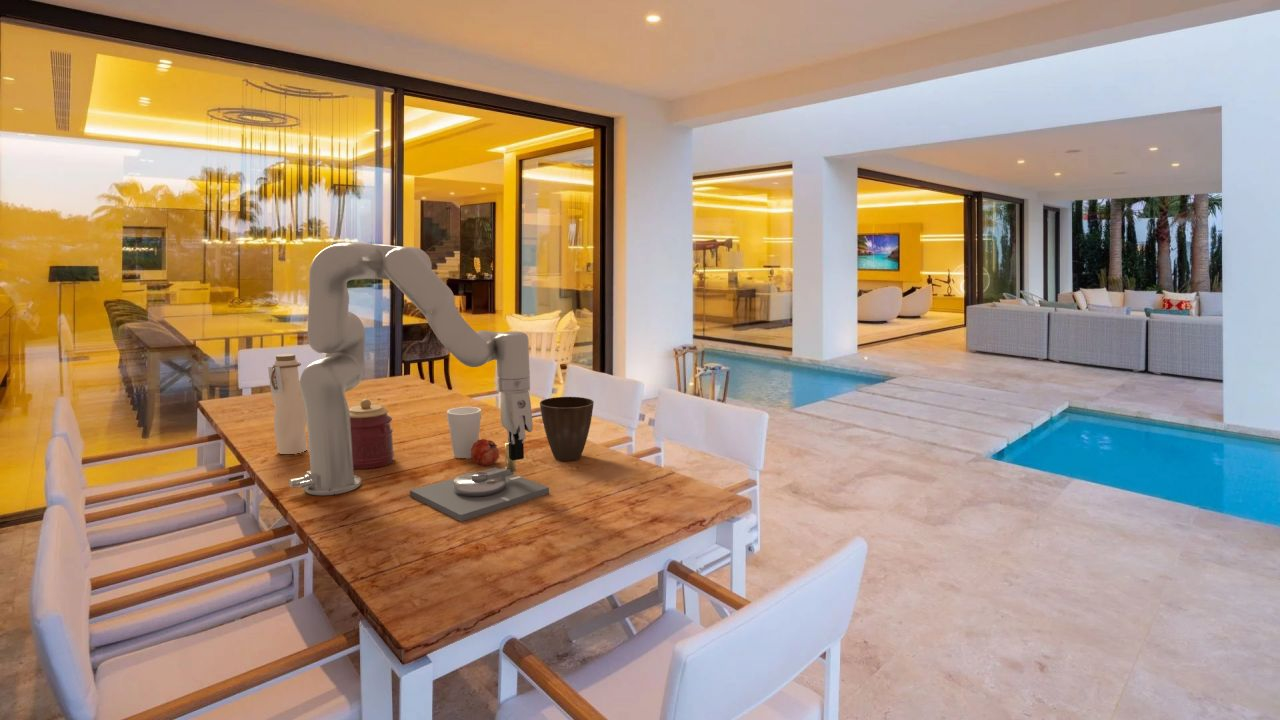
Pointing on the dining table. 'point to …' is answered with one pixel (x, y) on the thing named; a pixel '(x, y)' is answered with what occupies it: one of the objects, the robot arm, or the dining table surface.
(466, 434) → the foam cup
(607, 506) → the dining table surface
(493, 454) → the pomegranate
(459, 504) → the base
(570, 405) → the plant pot
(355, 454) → the canister
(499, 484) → the crank handle
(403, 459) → the dining table surface
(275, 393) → the water bottle
